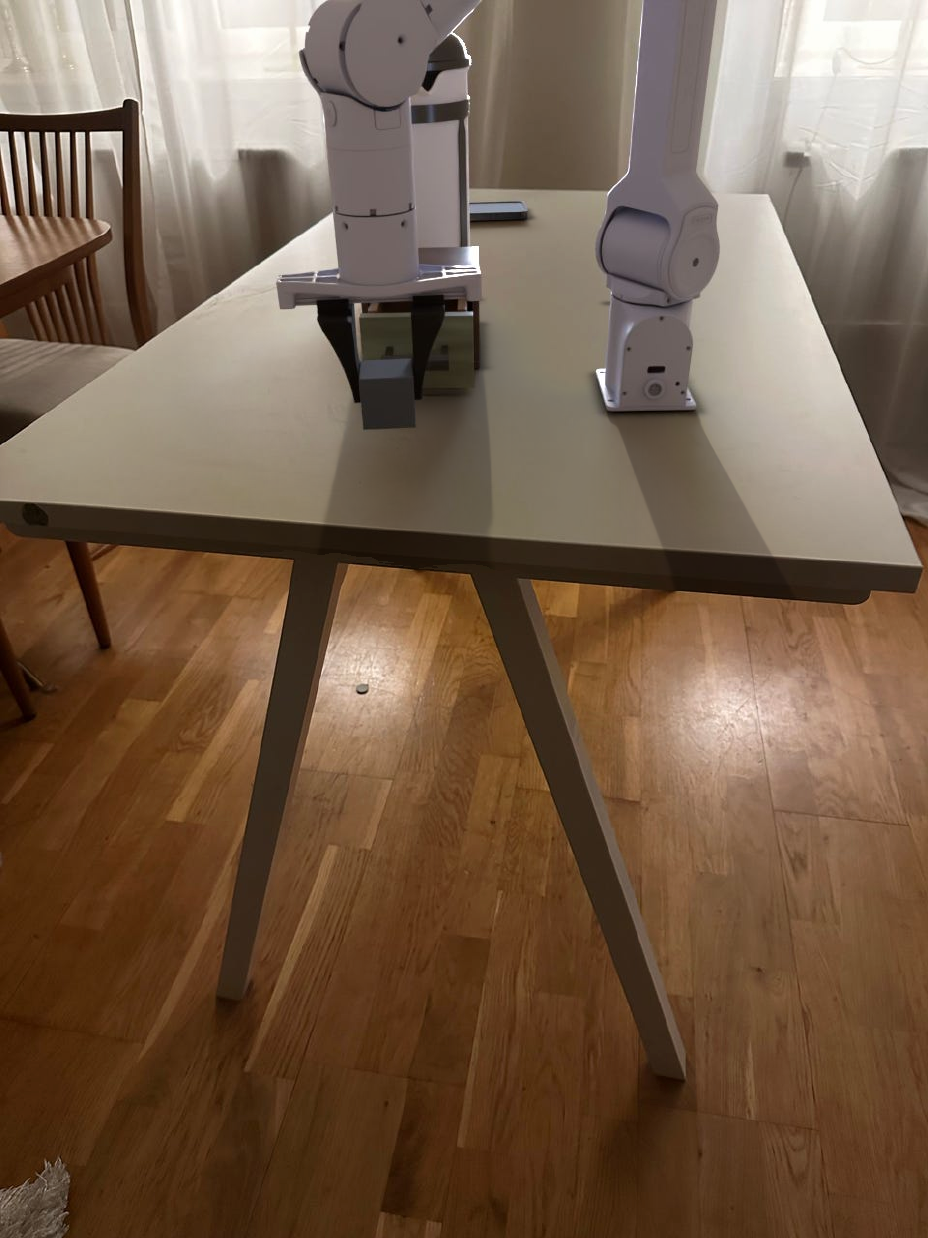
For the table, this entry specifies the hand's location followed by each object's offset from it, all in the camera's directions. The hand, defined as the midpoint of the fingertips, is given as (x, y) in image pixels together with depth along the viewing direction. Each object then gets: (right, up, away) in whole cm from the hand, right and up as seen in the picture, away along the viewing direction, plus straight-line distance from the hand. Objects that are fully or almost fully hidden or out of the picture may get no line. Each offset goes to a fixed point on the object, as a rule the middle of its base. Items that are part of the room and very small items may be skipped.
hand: (388, 396), depth 70 cm
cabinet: (+2, +12, +26) cm, 29 cm away
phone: (+8, +48, +76) cm, 90 cm away
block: (0, -2, 0) cm, 2 cm away
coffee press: (0, +23, +43) cm, 49 cm away
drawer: (+2, +7, +18) cm, 19 cm away
